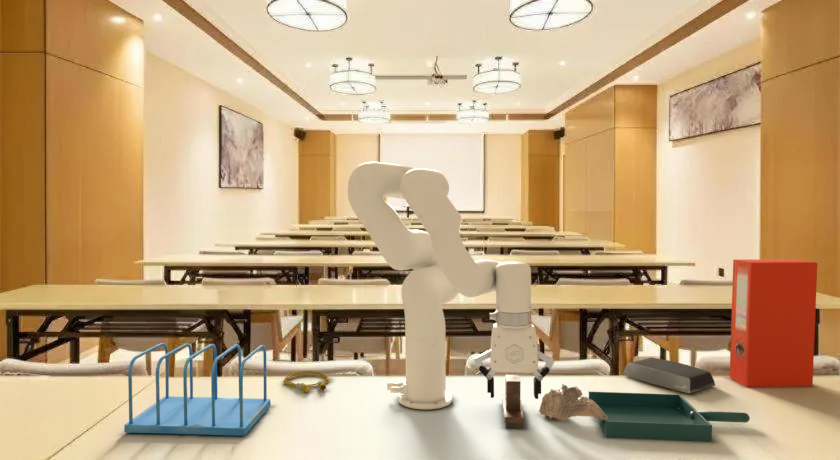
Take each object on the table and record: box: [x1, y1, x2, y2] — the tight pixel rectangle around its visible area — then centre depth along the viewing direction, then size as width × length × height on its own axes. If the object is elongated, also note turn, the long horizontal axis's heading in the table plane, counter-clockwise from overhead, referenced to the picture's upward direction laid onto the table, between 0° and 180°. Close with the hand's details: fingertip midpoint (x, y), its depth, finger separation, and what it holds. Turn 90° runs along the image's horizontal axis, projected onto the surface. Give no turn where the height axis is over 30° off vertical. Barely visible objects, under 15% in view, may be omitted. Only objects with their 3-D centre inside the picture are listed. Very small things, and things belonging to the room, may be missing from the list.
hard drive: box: [622, 357, 716, 394], centre depth 154 cm, size 13×19×4 cm
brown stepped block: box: [501, 374, 525, 430], centre depth 128 cm, size 4×14×9 cm, turn 174°
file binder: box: [729, 258, 818, 388], centre depth 153 cm, size 8×17×32 cm, turn 93°
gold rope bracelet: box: [283, 370, 330, 393], centre depth 152 cm, size 12×16×2 cm
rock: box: [538, 383, 608, 421], centre depth 127 cm, size 6×14×7 cm, turn 62°
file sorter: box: [123, 342, 272, 437], centre depth 126 cm, size 25×17×15 cm
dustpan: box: [588, 391, 751, 442], centre depth 125 cm, size 31×19×3 cm, turn 84°
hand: (514, 396), depth 128 cm, fingers open, 9 cm apart
